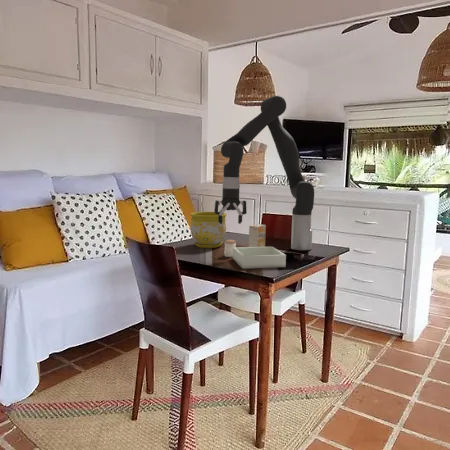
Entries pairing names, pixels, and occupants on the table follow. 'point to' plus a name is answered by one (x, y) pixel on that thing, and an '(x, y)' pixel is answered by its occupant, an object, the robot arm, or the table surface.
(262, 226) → the supplement box
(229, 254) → the dressing jar
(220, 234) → the flowerpot
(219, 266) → the table surface
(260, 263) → the bin
